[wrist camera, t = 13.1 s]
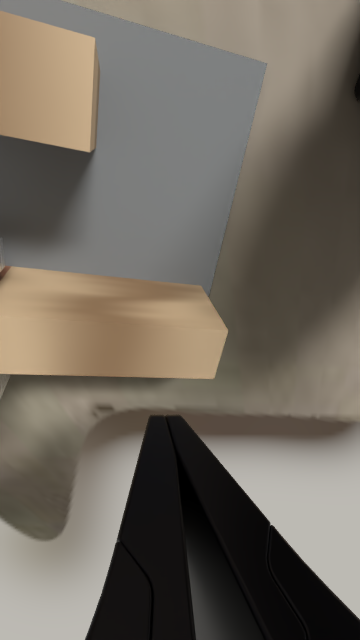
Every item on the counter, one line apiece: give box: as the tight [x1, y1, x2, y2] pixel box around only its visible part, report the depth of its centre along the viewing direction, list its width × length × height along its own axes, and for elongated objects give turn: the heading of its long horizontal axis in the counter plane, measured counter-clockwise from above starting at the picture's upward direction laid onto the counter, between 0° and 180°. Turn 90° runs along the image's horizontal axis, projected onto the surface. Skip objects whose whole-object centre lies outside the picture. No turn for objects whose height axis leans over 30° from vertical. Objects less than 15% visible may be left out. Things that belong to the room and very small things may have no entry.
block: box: [0, 11, 228, 379], centre depth 9 cm, size 14×10×6 cm
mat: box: [0, 0, 267, 298], centre depth 12 cm, size 14×12×1 cm
